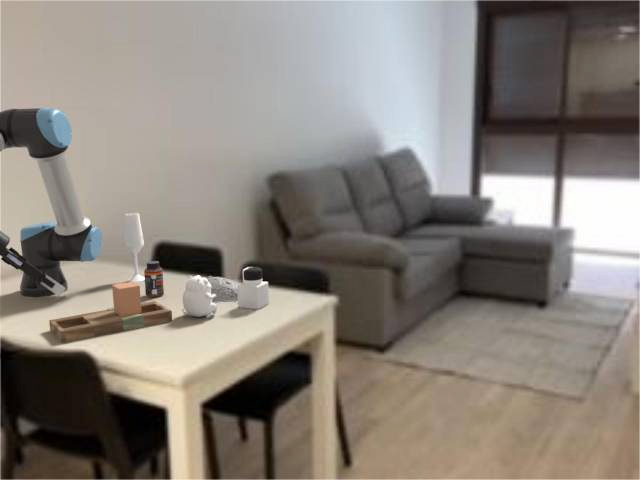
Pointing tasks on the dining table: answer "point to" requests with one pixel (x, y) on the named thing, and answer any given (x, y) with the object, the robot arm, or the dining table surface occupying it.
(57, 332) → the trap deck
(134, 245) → the champagne flute
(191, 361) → the dining table surface
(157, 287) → the supplement bottle
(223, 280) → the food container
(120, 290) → the block
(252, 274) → the medicine bottle
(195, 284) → the figurine
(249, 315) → the dining table surface
